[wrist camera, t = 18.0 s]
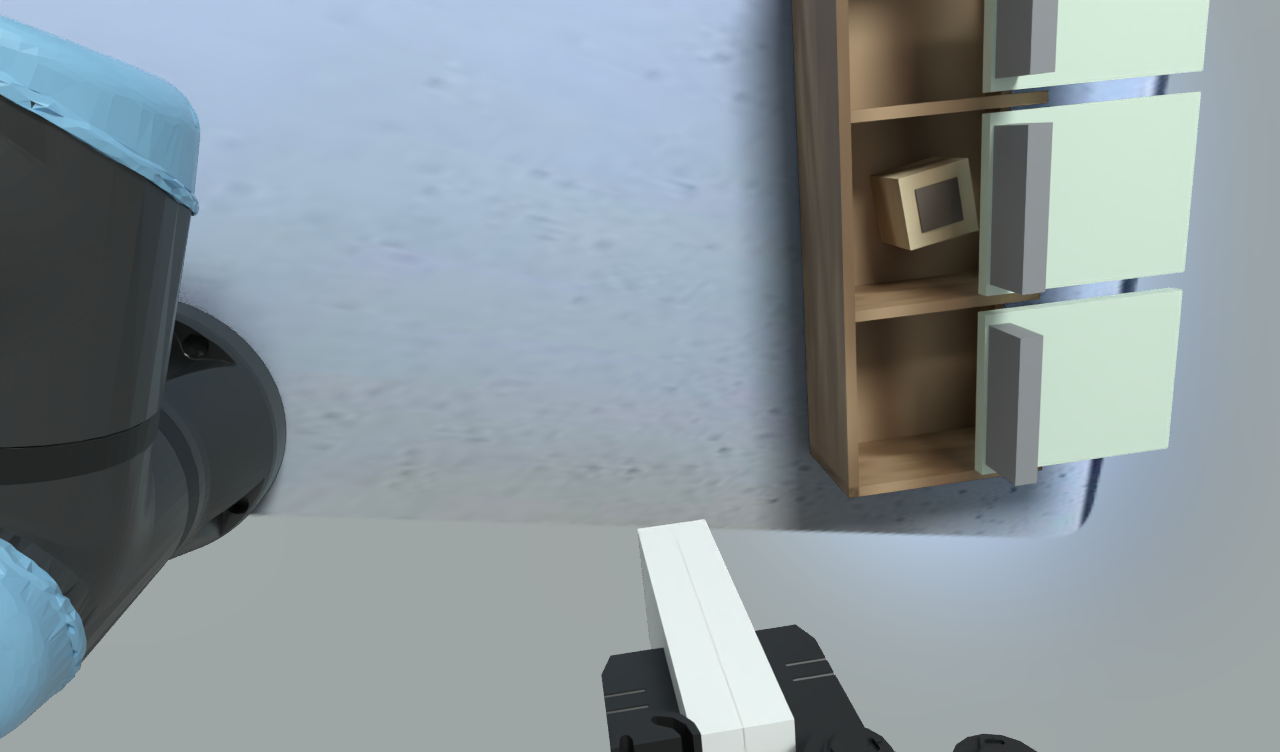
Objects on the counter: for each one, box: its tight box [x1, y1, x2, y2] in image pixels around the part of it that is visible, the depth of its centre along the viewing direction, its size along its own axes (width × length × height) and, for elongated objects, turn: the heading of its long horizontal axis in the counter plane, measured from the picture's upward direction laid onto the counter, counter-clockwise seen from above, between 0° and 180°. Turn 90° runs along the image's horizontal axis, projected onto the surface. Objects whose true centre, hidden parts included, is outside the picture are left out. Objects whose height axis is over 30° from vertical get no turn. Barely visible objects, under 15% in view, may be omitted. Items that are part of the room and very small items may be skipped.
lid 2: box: [978, 92, 1201, 296], centre depth 42 cm, size 11×9×4 cm
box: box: [792, 0, 1049, 498], centre depth 46 cm, size 12×31×7 cm, turn 6°
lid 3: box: [975, 288, 1183, 486], centre depth 45 cm, size 11×9×4 cm
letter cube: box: [870, 157, 979, 250], centre depth 47 cm, size 4×4×4 cm
